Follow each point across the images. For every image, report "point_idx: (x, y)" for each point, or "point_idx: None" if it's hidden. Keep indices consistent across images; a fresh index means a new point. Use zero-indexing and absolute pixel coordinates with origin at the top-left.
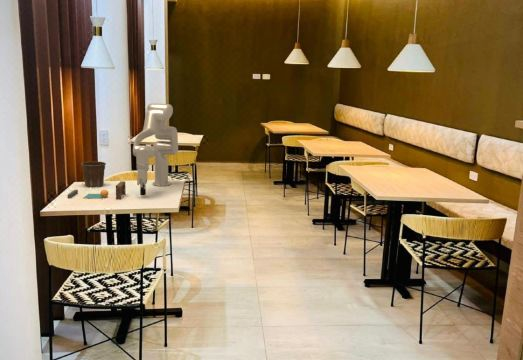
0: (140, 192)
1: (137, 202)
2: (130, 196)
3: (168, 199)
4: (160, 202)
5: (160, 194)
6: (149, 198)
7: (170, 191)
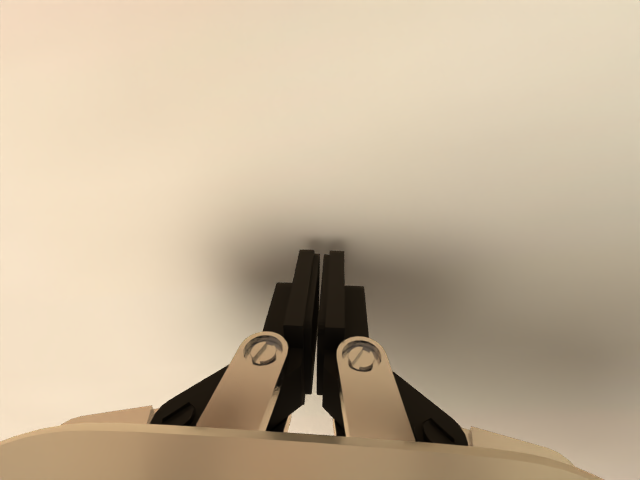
0: (293, 280)
1: (2, 228)
2: (387, 28)
3: None
4: None
5: (484, 414)
6: None
7: (619, 476)
